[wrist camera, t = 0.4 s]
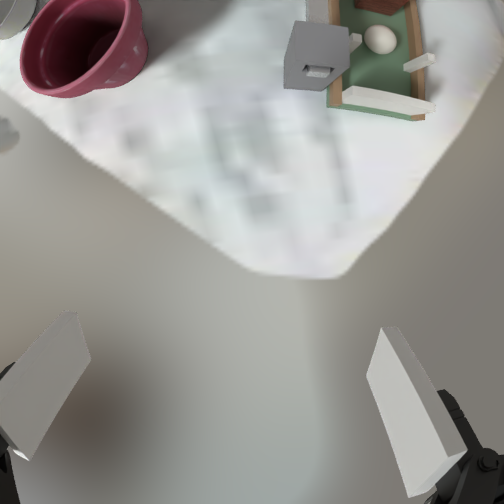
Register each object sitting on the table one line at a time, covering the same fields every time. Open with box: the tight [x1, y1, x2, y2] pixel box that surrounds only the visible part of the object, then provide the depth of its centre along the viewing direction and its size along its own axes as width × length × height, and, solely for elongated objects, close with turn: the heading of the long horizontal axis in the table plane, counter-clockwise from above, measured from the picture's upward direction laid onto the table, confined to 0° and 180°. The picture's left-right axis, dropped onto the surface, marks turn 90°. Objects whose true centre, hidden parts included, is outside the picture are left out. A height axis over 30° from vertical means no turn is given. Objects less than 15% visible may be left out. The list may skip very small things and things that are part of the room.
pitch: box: [284, 0, 436, 121], centre depth 22 cm, size 24×17×12 cm
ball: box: [364, 25, 397, 54], centre depth 26 cm, size 4×4×4 cm
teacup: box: [0, 0, 37, 40], centre depth 22 cm, size 14×11×8 cm
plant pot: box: [20, 0, 148, 98], centre depth 24 cm, size 14×14×13 cm
